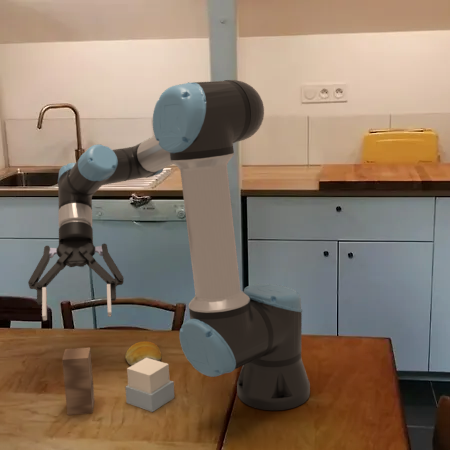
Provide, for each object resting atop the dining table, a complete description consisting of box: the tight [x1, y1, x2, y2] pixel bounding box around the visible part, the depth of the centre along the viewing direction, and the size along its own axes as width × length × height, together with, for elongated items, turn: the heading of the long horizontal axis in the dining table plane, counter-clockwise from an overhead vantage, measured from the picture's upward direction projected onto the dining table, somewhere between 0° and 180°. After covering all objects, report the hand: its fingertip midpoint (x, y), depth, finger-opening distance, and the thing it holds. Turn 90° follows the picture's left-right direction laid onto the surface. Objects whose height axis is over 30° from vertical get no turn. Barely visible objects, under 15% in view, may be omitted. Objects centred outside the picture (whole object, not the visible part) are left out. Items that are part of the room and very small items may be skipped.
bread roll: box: [125, 340, 162, 367], centre depth 164 cm, size 8×9×4 cm
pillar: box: [61, 347, 95, 416], centre depth 142 cm, size 5×5×12 cm
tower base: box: [124, 379, 175, 413], centre depth 145 cm, size 7×7×4 cm
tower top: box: [126, 358, 171, 394], centre depth 144 cm, size 6×6×4 cm
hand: (77, 316), depth 150 cm, fingers open, 13 cm apart
